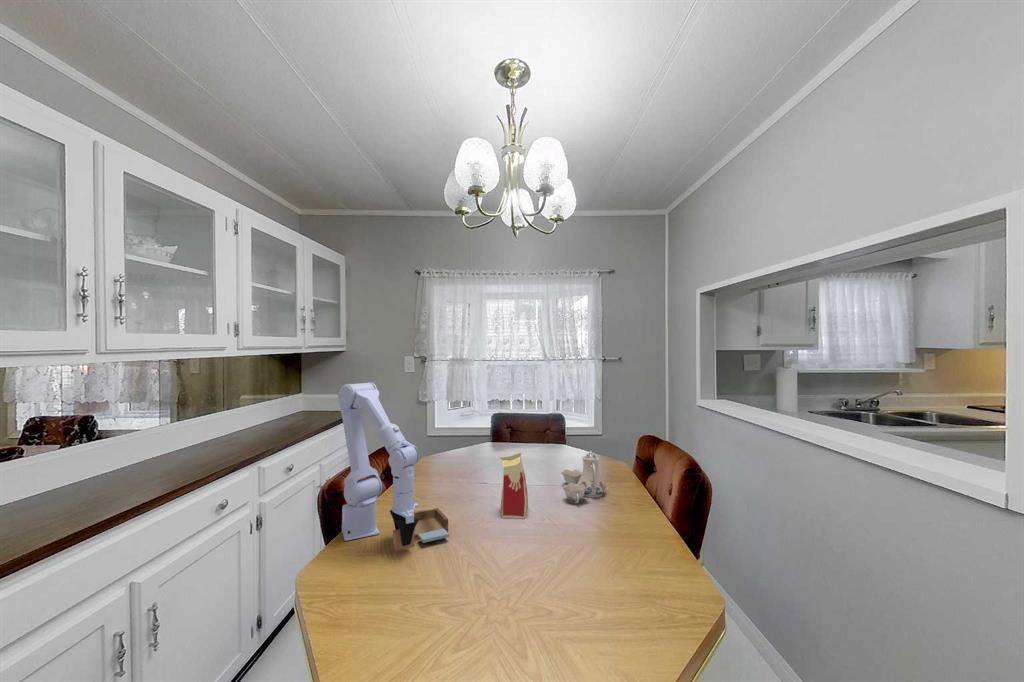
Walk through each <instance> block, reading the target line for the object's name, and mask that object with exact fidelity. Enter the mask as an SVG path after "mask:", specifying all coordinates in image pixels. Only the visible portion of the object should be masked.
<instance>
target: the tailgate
mask: <svg viewBox="0 0 1024 682" xmlns="http://www.w3.org/2000/svg"><path fill="white" fill-rule="evenodd" d="M418 538H419V539H418V540H419V541H421V543H423V544H425V543H428V542H432V541H437V540H442V539H445V538H450V532H449V531H448V532H447V531H446V530H445V529H439V530H435V531H430V532H426V533H421V534H418Z"/></svg>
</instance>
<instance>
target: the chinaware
mask: <svg viewBox="0 0 1024 682" xmlns="http://www.w3.org/2000/svg"><path fill="white" fill-rule="evenodd" d="M581 458H582V462H583V463H582V464H583V467H582V468H583V469H582V471H580V470H578V469H572V470H569V469H564V470H563V471H561V475H562V476H563V479H564V482H565V483H566V484H562V485H561V487H562V489H563V492H564V495H565V496H566V498H567V499H568V500H570V501H569V502H570V503H572V504H579V503H580V502H581V501H580V500H582V498H583V497H585V498H588V499H589V498H591V499H595V498H601V497H603V492H605V489H606V483H605V482H604V480H603V478H602V476H601V474H600V471H599V461H600V457H598V456H596V455H595V454H594V453H593V452H592V450H589V452H588V453H586V455H585V456H582V457H581Z"/></svg>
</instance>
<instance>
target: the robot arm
mask: <svg viewBox="0 0 1024 682" xmlns="http://www.w3.org/2000/svg"><path fill="white" fill-rule="evenodd" d="M337 398H338V404H339V411H340V413H341V418H342V424H343V430H344V436H345V442H346V447H347V448H346V449H347V455H348V460H349V461H348V462H349V465H350V472H349V473H348V474H347V476H346V477H345V478H344V479H343V483H344V489H343V497H344V499H345V501H346V502H347V504H343V505H342V510H341V513H342V514H341V518H342V519H341V533H342V536H343V540H344V541H345V542H347V541H352V540H356V539H361V538H366V537H370V536H371V537H372V536H377V535H379V534H380V531H379V529H378V527H377V500H379V496H380V495H381V493H382V491H383V482H382V481H381V477H380V476H379V472H378V470H377V469H375V468H373V467H372V466H371V465H370V460H369V459H370V458H369V453H368V447H367V442H366V435H365V430H364V423H363V418H362V414H363V413H364V412H365V411H366V412H367V414H368V415H369V417H370V418H371V420H372V421H373V422H374V423H375V426H377V428H378V429H379V430H378V438H379V439H380V441H381V443H382V445H383V446H384V448H385V450H386V451H387V453H388V454H389V457H388V459H387V460H388V461H387V462H388V465H389V467H390V469H391V470H390V471H391V476H393V477H392V507H391V509H390V510H389V513H390V515H391V518H392V520H393V525H394V530H398V529H399V530H400V536H401V542H402V546H407V545H410V544H411V540H412V536H413V532H414V529H415V526H416V525H417V523H418V518H417V517H416V518H414V512H415V509H417V508H419V503H417V502H415V465H416V464H417V463H418V462H419V458H420V454H419V450H418V447H417V446H416V445H414V444H412V443H410V442H409V441H407V439H406V438H405V436H404V434H403V432H402V431H401V430H400V429H401V428H400V427H399V426H398V425H397V423H396V424H395V423H392V422H391V421H390V419H389V417H388V415H387V413H386V411H385V408H383V405H382V403H381V402H380V391H379V390H378V388H377V385H376V384H375V383H374V382H371V381H369V382H364V383H363V382H362V383H359V382H358V383H346V384H343V385H342V386H341V388H340V389H339V391H338V394H337Z"/></svg>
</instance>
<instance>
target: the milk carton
mask: <svg viewBox="0 0 1024 682" xmlns="http://www.w3.org/2000/svg"><path fill="white" fill-rule="evenodd" d="M499 458H500V459H501V462H502V466H503V474H502V475H503V476H502V479H503V480H502V491H501V492H502V493H501V500H500V502H501V503H500V508H499V509H500V510H499V513H500V516H501V518H502V519H520V520H521V519H522V520H526V518H527V514H528V510H529V495H528V485H527V479H526V473H525V470H524V465H523V462H522V452H518V453H515V454H512V455H506V456H499Z"/></svg>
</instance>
